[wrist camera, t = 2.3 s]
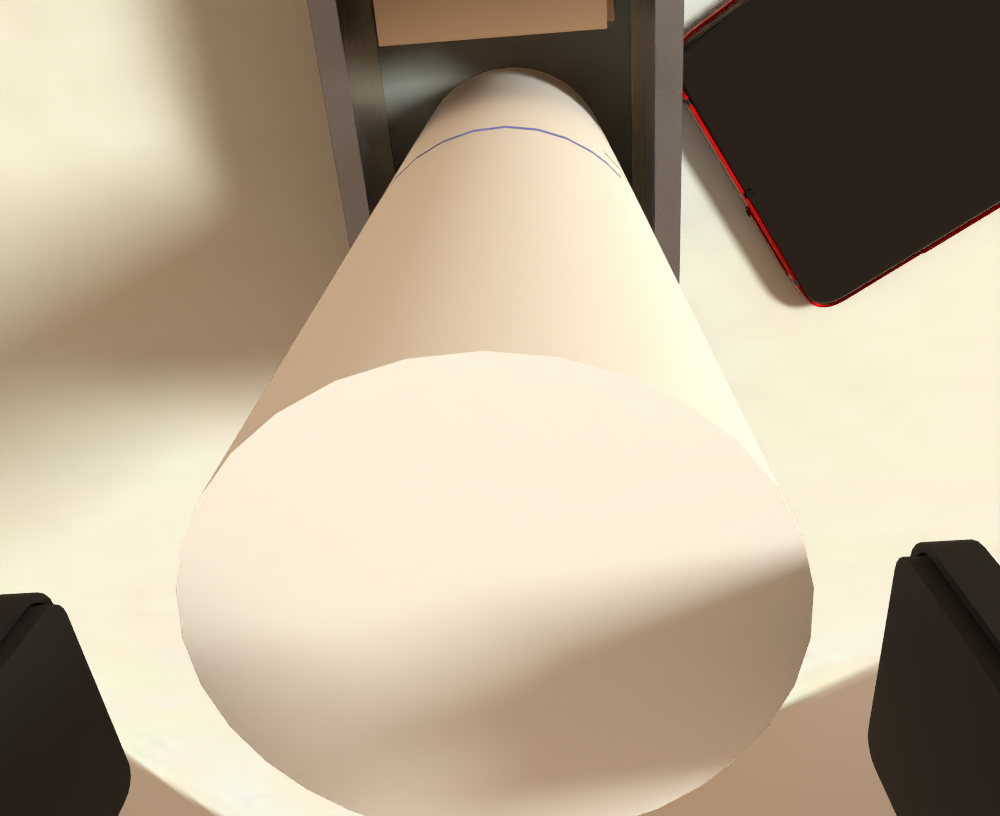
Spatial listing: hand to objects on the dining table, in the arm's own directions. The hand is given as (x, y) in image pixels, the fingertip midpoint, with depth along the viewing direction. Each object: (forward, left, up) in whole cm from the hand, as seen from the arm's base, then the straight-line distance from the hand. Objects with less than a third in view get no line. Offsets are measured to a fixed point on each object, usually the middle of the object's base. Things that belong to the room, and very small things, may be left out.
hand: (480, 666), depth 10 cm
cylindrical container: (0, 0, -25) cm, 25 cm away
